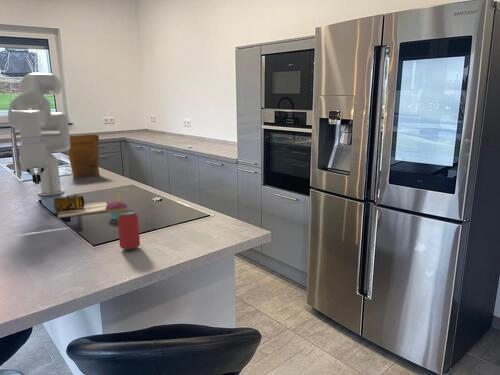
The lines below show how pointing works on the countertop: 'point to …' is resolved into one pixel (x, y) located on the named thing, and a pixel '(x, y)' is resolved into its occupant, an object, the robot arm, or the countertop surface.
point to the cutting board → (84, 210)
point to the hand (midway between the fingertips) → (37, 183)
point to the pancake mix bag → (84, 155)
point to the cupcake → (116, 208)
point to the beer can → (128, 229)
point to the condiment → (68, 203)
